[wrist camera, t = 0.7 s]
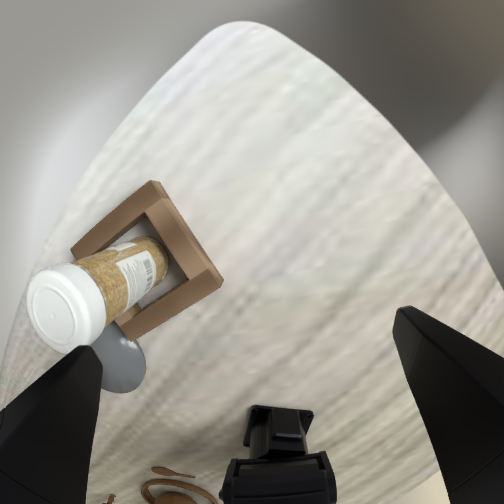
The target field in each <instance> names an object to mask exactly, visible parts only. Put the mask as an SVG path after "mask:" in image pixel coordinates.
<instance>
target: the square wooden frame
mask: <svg viewBox="0 0 504 504" xmlns="http://www.w3.org/2000/svg"><path fill="white" fill-rule="evenodd" d="M146 216H148V218H149V219H150V221H151V222H152V224H153V226H154V227H155V229H156V230H157V232H158V233H159V235H160V236H161V238H162V240H163V241H164V243H165V244H166V246H167V247H168V249H169V250H170V252H171V253H172V255H173V256H174V258H175V259H176V261H177V262H178V264H179V265H180V267H181V268H182V270H183V271H184V273H185V274H186V276H187V277H188V279H187V280H185V281H184V282H182V283H181V284H179V285H178V286H176V287H175V288H173V289H172V290H170V291H169V292H167V293H165V294H164V295H162V296H161V297H159V298H158V299H156V300H155V301H153V302H152V303H150V304H149V305H147V306H146V307H144V308H143V309H141V308H140V307H139V305H138V304H137V303H135V304H134V305H132V306H131V307H130V308H129V309H128V310H127V311H125V312H124V313H123V314H122V315H121V316H119V317H118V318H116V319H114V320H115V321H116V323H117V324H118V326H119V327H120V328H121V330H122V331H123V332H124V334H125V335H126V336H127V338H128V339H129V340H130V342H132V341H134V340H136V339H137V338H139V337H141V336H142V335H144V334H145V333H147V332H149V331H150V330H152V329H154V328H155V327H157V326H159V325H160V324H162V323H163V322H165V321H167V320H168V319H170V318H172V317H173V316H175V315H177V314H178V313H180V312H181V311H183V310H185V309H186V308H188V307H190V306H191V305H193V304H194V303H196V302H198V301H199V300H201V299H202V298H204V297H206V296H207V295H209V294H210V293H212V292H214V291H215V290H217V289H219V288H220V287H221V285H222V283H223V281H224V279H223V278H222V276H221V275H220V274H219V272H218V271H217V269H216V268H215V266H214V265H213V263H212V262H211V260H210V259H209V257H208V256H207V254H206V253H205V251H204V250H203V248H202V247H201V245H200V244H199V242H198V241H197V239H196V238H195V236H194V235H193V233H192V232H191V230H190V229H189V227H188V226H187V224H186V223H185V221H184V219H183V218H182V216H181V215H180V213H179V212H178V210H177V209H176V207H175V206H174V204H173V202H172V201H171V199H170V198H169V196H168V195H167V193H166V191H165V190H164V188H163V187H162V185H161V183H160V182H158V181H152V180H150V181H149V182H147V183H146V184H145V185H143V186H142V187H141V188H140V189H138V190H137V191H136V192H135V193H133V194H132V195H131V196H130V197H128V198H127V199H126V200H125V201H124V202H122V203H121V204H120V205H119V206H118V207H116V208H115V209H114V210H113V211H112V212H111V213H109V214H108V215H107V216H106V217H105V218H104V219H102V220H101V221H100V222H99V223H98V224H97V225H96V226H95V227H93V228H92V229H91V230H90V231H89V232H88V233H87V234H86V235H85V236H84V237H83V238H82V239H80V240H79V241H78V242H77V243H76V244H75V245H74V246H73V247H72V248H71V249H70V250H71V252H72V254H73V256H74V257H75V259H76V261H78V260H80V259H83V258H85V257H88V256H91V255H94V254H96V253H98V252H101V251H103V250H105V249H106V248H108V247H109V246H110V245H111V244H112V243H114V242H115V241H116V240H117V239H118V238H120V237H121V236H122V235H123V234H125V233H126V232H127V231H128V230H130V229H131V228H132V227H133V226H135V225H136V224H137V223H138V222H140V221H141V220H142V219H144V218H145V217H146Z"/></svg>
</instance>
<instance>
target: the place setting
mask: <svg viewBox="0 0 504 504" xmlns="http://www.w3.org/2000/svg"><path fill="white" fill-rule="evenodd" d="M151 470H152V471H153V472H155V473H157V474H160V475H164V476H172V475H176V476H183V477H190V478H195V476H190V475H184V474H179V473H175V472H173V471H172V470H169V469H167V468H162V467H154V468H152V469H151ZM156 484H163V485H172V486H177V487H181V488H185V489H188V490H191V491H194V492H196V493H199V494H201V495H203V496H204V497H206V498H208V499H209V500H210V501H212V502H213V503H214V504H218V503H217V501H216V499H215V498H214V497H213V496H212V495H211V494H209V493H208V492H207V491H205V490H203V489H201V488H199V487H196V486H194V485H191V484H188V483H185V482H181V481H176V480H170V479H156V480H151V481H149V482H147V483H145V484H144V485H143V487H142V489H141V494H142V496H143V498H144V499H145V500H146V501H147V502H148V503H149V504H197V503H196V502H195V501H193V499H192V498H191V497H189V496H187V495H185V494H182V493H178V492H171V493H169V494H163V495H160V496H159V497H158V498H157V499H154V498H153V497H152V496H151V495H150V493H149V491H148V486H150V485H156ZM110 495H111V496H110V497H109V498H108V502H107V503H103V504H112V502H113V501H114V497H116V496H115V495H113V494H110Z"/></svg>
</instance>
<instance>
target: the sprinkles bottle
mask: <svg viewBox="0 0 504 504" xmlns="http://www.w3.org/2000/svg"><path fill="white" fill-rule="evenodd" d="M168 265H169V262H168V256H167V253H166V251H165V249H164V248H163V246H162V245H161V244H160V243H159V242H158V241H156V240H155V239H152V238H149V237H137V238H135V239H133V240H131V241H130V242H126V243H122V244H119V245H116V246H113V247H110V248H107V249H105V250H103V251H101V252H98V253H96V254H94V255H91V256H88V257H85V258H83V259H80V260H78V261H75V262H72V263H59V264H56V265H53V266H51V267H48V268H46V269H44V270H41V271H40V272H38V273H36V274H35V275H34V276H33V277H32V279H31V280H30V282H29V285H28V288H27V292H26V305H27V311H28V315H29V318H30V321H31V323H32V325H33V327H34V329H35V331H36V332H37V334H38V335H39V337H40V338H41V339H42V340H43V341H44V342H45V343H46V344H47V345H48V346H49V347H51V348H52V349H54V350H55V351H57V352H60V353H63V354H68V353H69V352H71V351H72V350H73V349H74V348H76V347H77V346H78V345H90V344H92V343H93V342H94V341H95V340H96V339H97V338H98V337H99V336H100V335H101V333H102V331H103V330H104V328H105V327H106V326H107V325H109V324H110V323H111V322H112V321H113V320H114V319H116V318H118V317H119V316H121V315H122V314H123V313H124V312H125V311H127V310H128V309H129V308H130V307H131V306H132V305H134V304H135V303H136V302H137V301H138V300H139V299H141V298H142V297H143V296H144V295H145V294H146V293H147V292H149V290H150V289H151V288H152V287H153V286H155V285H158V284H159V283H160V282H161V281H162V280H163V279H164V278H165V276H166V274H167V271H168Z"/></svg>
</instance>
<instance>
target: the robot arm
mask: <svg viewBox="0 0 504 504" xmlns="http://www.w3.org/2000/svg"><path fill="white" fill-rule="evenodd" d="M393 338H394V341H395V344H396V347H397V350H398V353H399V356H400V360H401V363H402V366H403V369H404V373H405V376H406V379H407V382H408V384H409V387H410V389H411V391H412V394H413V396H414V399H415V401H416V404H417V406H418V409H419V411H420V414H421V416H422V419H423V421H424V424H425V427H426V429H427V432H428V435H429V438H430V440H431V443H432V446H433V449H434V452H435V455H436V458H437V461H438V464H439V467H440V470H441V473H442V476H443V479H444V483H445V486H446V489H447V492H448V497H449V500H450V504H504V358H503V357H501V356H500V355H498V354H496V353H494V352H493V351H491V350H489V349H488V348H486V347H484V346H482V345H481V344H479V343H477V342H476V341H474V340H472V339H470V338H469V337H467V336H465V335H463V334H462V333H460V332H458V331H456V330H454V329H453V328H451V327H449V326H447V325H446V324H444V323H442V322H440V321H438V320H437V319H435V318H433V317H431V316H429V315H428V314H426V313H424V312H422V311H420V310H419V309H417V308H415V307H413V306H405V307H400V308H398V309H397V311H396V316H395V321H394V326H393ZM102 375H103V365H102V362H101V361H100V359H99V358H98V356H97V354H96V353H95V351H94V349H93V348H92V347H91V346H90V345H78V346H77V347H76V348H74V349H73V350H72V351H71V352H69V353H68V354H67V355H66V356H65V357H63V358H62V359H61V360H60V361H59V362H57V363H56V364H55V365H54V366H53V367H51V368H50V369H49V370H48V371H47V372H45V373H44V374H43V375H42V376H41V377H39V378H38V379H37V380H36V381H35V382H34V383H32V384H31V385H30V386H29V387H28V388H27V389H25V390H24V391H23V392H22V393H21V394H20V395H18V396H17V397H16V398H15V399H14V400H13V401H12V402H10V403H9V404H8V405H7V406H6V408H4V409H2V410H1V411H0V504H85V503H86V491H87V482H88V473H89V465H90V458H91V451H92V445H93V438H94V433H95V427H96V422H97V416H98V410H99V401H100V392H101V383H102ZM256 409H258V410H257V411H256ZM307 415H309V416H307ZM313 417H314V414H313V412H312V411H308V410H296V409H285V408H276V407H267V406H259V405H255V406H253V407H252V410H251V414H250V418H249V422H248V426H247V430H246V434H245V437H244V441H243V445H244V446H245V447H250V455H249V459H231V462H230V464H229V465H228V469H227V472H226V476H225V479H224V483H223V486H222V489H221V490H220V492H219V498H220V499H221V500H222V501H223V502H224V504H336V501H337V488H336V481H335V476H334V472H333V470H332V467H331V464H330V462H329V459H328V457H327V454H326V451H321V452H319V453H314V454H308V449H307V443H306V437H305V436H306V434H307V432H308V429H309V427H310V424H311V422H312V420H313Z"/></svg>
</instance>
